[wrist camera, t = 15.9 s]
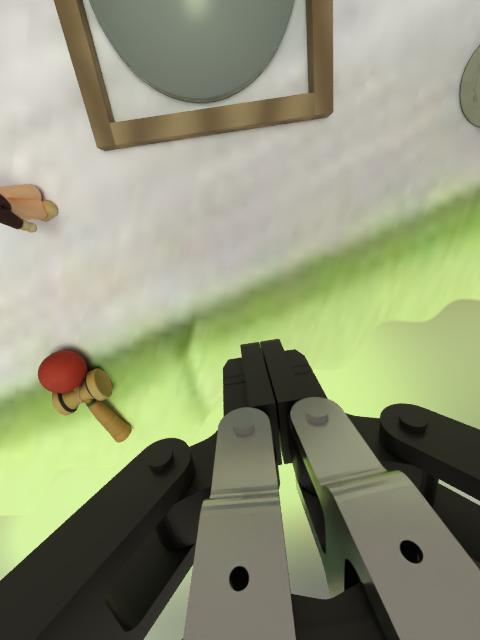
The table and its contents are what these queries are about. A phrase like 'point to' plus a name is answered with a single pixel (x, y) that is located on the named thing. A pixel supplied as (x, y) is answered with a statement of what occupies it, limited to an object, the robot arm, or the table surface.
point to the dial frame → (202, 120)
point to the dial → (195, 42)
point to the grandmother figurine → (24, 207)
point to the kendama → (80, 390)
